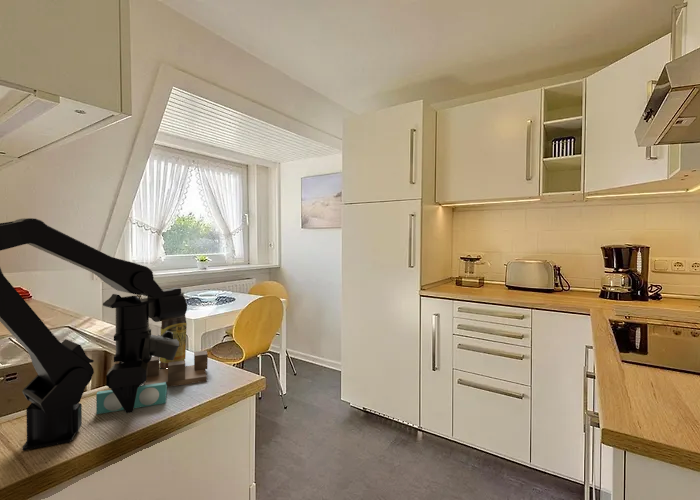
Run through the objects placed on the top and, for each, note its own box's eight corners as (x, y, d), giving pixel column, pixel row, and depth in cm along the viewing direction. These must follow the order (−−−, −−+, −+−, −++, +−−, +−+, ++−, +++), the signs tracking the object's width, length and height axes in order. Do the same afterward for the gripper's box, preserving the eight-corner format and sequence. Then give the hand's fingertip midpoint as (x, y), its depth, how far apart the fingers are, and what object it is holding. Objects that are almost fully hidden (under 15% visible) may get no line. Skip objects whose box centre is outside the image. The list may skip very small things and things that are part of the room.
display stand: (142, 390, 80) (142, 369, 79) (145, 376, 88) (145, 356, 88) (208, 381, 86) (208, 360, 86) (206, 368, 94) (206, 349, 94)
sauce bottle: (166, 372, 91) (166, 295, 90) (155, 366, 94) (155, 292, 94) (190, 365, 96) (191, 292, 95) (179, 360, 100) (179, 289, 99)
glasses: (96, 414, 69) (96, 394, 69) (104, 397, 76) (104, 379, 76) (165, 403, 74) (165, 384, 74) (166, 388, 81) (167, 371, 81)
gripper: (176, 334, 67) (175, 415, 67) (177, 313, 83) (176, 379, 84) (105, 340, 62) (105, 428, 62) (121, 317, 79) (121, 386, 79)
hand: (132, 402), depth 72 cm, fingers open, 9 cm apart
